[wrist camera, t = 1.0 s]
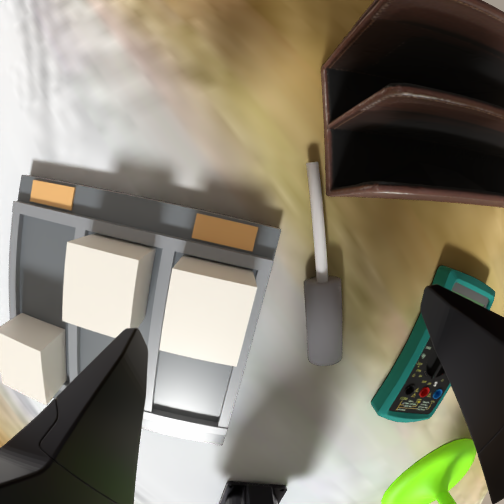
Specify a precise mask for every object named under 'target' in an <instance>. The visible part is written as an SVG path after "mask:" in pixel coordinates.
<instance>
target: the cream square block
mask: <svg viewBox="0 0 504 504" xmlns="http://www.w3.org/2000/svg"><path fill="white" fill-rule="evenodd" d="M0 372H1V377H2V382H3V384H5V385H6V386H8V387H10V388H12V389H14V390H16V391H18V392H20V393H22V394H24V395H26V396H28V397H30V398H32V399H34V400H36V401H38V402H40V403H43V404H45V405H47V404H48V403H49V402H50V400H51V399H52V398H53V397H54V395H55V394H56V393H57V392H58V390H59V389H60V388H61V387H62V385H63V384H64V383H65V382H66V380H67V374H66V351H65V329H63V328H60V327H57V326H55V325H52V324H49V323H47V322H44V321H41V320H39V319H36V318H34V317H31V316H29V315H26V314H24V313H20V314H19V315H17V316H16V317H14V318H12V319H11V320H9V321H8V322H6V323H5V324H3V325H2V326H0Z"/></svg>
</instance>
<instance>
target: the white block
mask: <svg viewBox="0 0 504 504" xmlns="http://www.w3.org/2000/svg"><path fill="white" fill-rule="evenodd" d="M256 291H257V284H256V281H255V277H254V274H253V270H250V269H245V268H241V267H236V266H232V265H228V264H223V263H219V262H214V261H210V260H205V259H201V258H197V257H192V256H188V255H183V256H182V257H181V258H180V260H179V261H178V262H177V263H176V264H175V266H174V267H173V268H172V273H171V279H170V284H169V290H168V296H167V302H166V308H165V314H164V321H163V327H162V334H161V341H160V348H159V350H161V351H165V352H169V353H173V354H177V355H182V356H186V357H191V358H195V359H200V360H204V361H209V362H214V363H219V364H224V365H230V366H235V367H237V364H238V360H239V356H240V352H241V349H242V345H243V341H244V337H245V333H246V329H247V326H248V322H249V318H250V314H251V310H252V306H253V302H254V298H255V295H256Z"/></svg>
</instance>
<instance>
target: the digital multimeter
mask: <svg viewBox="0 0 504 504" xmlns="http://www.w3.org/2000/svg"><path fill="white" fill-rule="evenodd" d="M434 284H438V285H440V286H442V287H444V288H446V289H448V290H450V291H452V292H454V293H457V294H459V295H461V296H463V297H465V298H467V299H469V300H471V301H473V302H475V303H477V304H479V305H481V306H483V307H485V308H486V309H488V310H490V308H491V306H492V303H493V301H494V297H495V291H494V290H493V289H491V288H490V287H489V286H487V285H486V284H484V283H483V282H481V281H480V280H478V279H476V278H474V277H472V276H469V275H467V274H465V273H462V272H460V271H457V270H454V269H452V268H449V267H446V266H443V265H441V266H440V267H439V268H438V269H437V272H436V275H435V278H434V280H433V283H432V285H434ZM424 347H425V348H424ZM416 362H417V363H416ZM425 373H426V374H425ZM450 386H451V384H450V382H449V380H448V377H447V375H446V373H445V371H444V369H443V366H442V364H441V362H440V360H439V358H438V356H437V353H436V351H435V349H434V346H433V343H432V341H431V338H430V335H429V332H428V330H427V327H426V324H425V322H424V319H423V317H422V314H421V313H420V316H419V318H418V320H417V322H416V324H415V326H414V328H413V331H412V333H411V335H410V337H409V339H408V341H407V343H406V345H405V347H404V349H403V351H402V352H401V354H400V356H399V358H398V359H397V361H396V363H395V365H394V366H393V368H392V370H391V372H390V373H389V375H388V377H387V378H386V380H385V382H384V383H383V385H382V386H381V388H380V389H379V391H378V392H377V394H376V395H375V397H374V398H373V400H372V402H371V405H372V406H373V408H374V409H375V411H376V413H377V414H378V415H379V416H381V417H384V418H386V419H388V420H392V421H395V422H416V421H421V420H426V419H429V418H430V417H431V416H432V415H433V414H434V412H435V411H436V409H437V407H438V406H439V404H440V403H441V401H442V399H443V398H444V396H445V395H446V393H447V391H448V390H449V388H450Z"/></svg>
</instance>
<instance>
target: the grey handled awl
mask: <svg viewBox="0 0 504 504" xmlns="http://www.w3.org/2000/svg"><path fill="white" fill-rule="evenodd" d="M306 166H307V175H308V184H309V193H310V203H311V214H312V225H313V237H314V249H315V263H316V277H312V278H309V279H307V280H305V281H304V294H305V310H306V327H307V346H308V360H309V361H310V362H311V363H313V364H315V365H319V366H328V365H333V364H335V363H337V362H339V361H340V360H341V359H342V288H341V279H340V278H338V277H334V276H328V267H327V251H326V237H325V225H324V213H323V202H322V192H321V182H320V173H319V164H318V162H309V163H306Z"/></svg>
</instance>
